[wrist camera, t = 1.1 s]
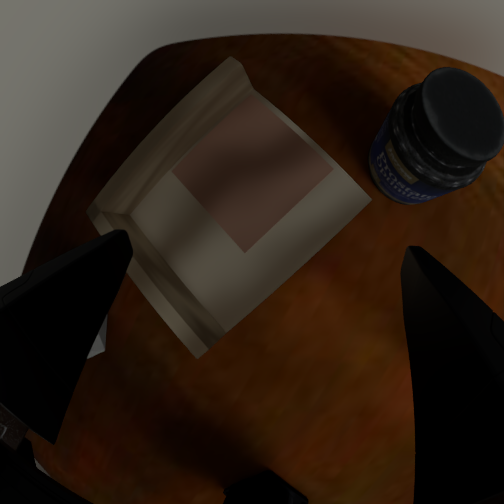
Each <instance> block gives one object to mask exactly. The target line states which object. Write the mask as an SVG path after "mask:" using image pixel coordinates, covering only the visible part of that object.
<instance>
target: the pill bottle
mask: <svg viewBox="0 0 504 504" xmlns="http://www.w3.org/2000/svg"><path fill="white" fill-rule="evenodd" d="M503 144H504V117H503V114H502V111H501V109H500V106H499V104H498V102H497V101H496V99H495V97H494V96H493V94H492V93H491V92H490V90H489V89H488V88H487V87H486V86H485V85H484V84H483V83H482V82H481V81H480V80H478V79H477V78H476V77H474V76H473V75H471V74H469V73H468V72H466V71H463V70H460V69H456V68H450V67H443V68H439V69H436V70H434V71H432V72H431V73H430V74H429V75H428V76H427V77H426V78H425V79H424V81H423V82H422V83H419V84H415V85H412V86H411V87H409V88H407V89H406V90H404V91H403V92H402V93H401V94H400V95H399V96H398V97H397V99H396V100H395V102H394V104H393V106H392V108H391V110H390V112H389V113H388V115H387V117H386V119H385V120H384V123H383V125H382V127H381V128H380V130H379V132H378V134H377V136H376V138H375V139H374V141H373V143H372V144H371V147H370V150H369V155H368V163H369V169H370V173H371V177H372V179H373V182H374V183H375V185H376V186H377V187H378V189H379V190H380V191H381V192H382V193H383V194H384V195H385V196H386V197H388V198H389V199H391V200H393V201H395V202H398V203H400V204H405V205H409V204H419V203H423V202H425V201H428V200H431V199H434V198H436V197H439V196H442V195H444V194H447V193H449V192H452V191H455V190H457V189H460V188H463V187H466V186H468V185H469V184H471V183H472V182H474V181H475V180H476V179H477V178H478V177H479V175H480V174H481V173H482V171H483V169H484V167H485V165H486V162H487V161H489V160H491V159H492V158H494V157H495V156H496V155H497V154H498V153H499V152H500V150H501V148H502V146H503Z"/></svg>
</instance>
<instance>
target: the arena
mask: <svg viewBox="0 0 504 504" xmlns="http://www.w3.org/2000/svg"><path fill="white" fill-rule="evenodd" d="M371 200H372V199H371V198H370V197H369V196H368V195H367V194H366V193H365V192H364V191H363V190H362V189H361V187H360V186H359V185H358V184H357V183H356V182H355V181H354V180H353V179H352V178H351V177H350V176H349V175H348V174H347V173H346V172H345V171H344V170H343V169H342V168H341V167H340V166H339V165H338V164H337V163H336V162H335V161H334V160H333V159H332V158H331V157H330V156H329V155H328V154H327V153H326V152H325V151H324V150H323V149H322V148H321V147H320V146H319V145H317V144H316V143H315V142H314V141H313V140H312V139H311V138H310V137H309V136H308V135H307V134H306V133H305V132H303V131H302V130H301V129H300V128H299V127H298V126H297V125H296V124H294V123H293V122H292V121H291V120H290V119H289V118H288V117H287V116H285V115H284V114H283V113H282V112H281V111H280V110H278V109H277V108H276V107H275V106H274V105H272V104H271V103H270V102H269V101H268V100H266V99H265V98H264V97H263V96H262V95H260V94H259V93H258V92H257V91H255V90H254V89H253V87H252V85H251V83H250V81H249V79H248V77H247V74H246V72H245V70H244V68H243V66H242V64H241V63H240V62H238V61H237V60H235V59H234V58H233V57H231V56H230V57H229V58H228V59H226V60H225V61H224V62H223V63H222V64H220V65H219V66H218V67H217V68H216V69H215V70H213V71H212V72H211V73H210V74H209V75H208V76H207V77H206V78H204V79H203V80H202V81H201V82H200V83H199V84H198V85H197V86H196V87H195V88H194V89H193V90H191V91H190V92H189V93H188V94H187V95H186V96H185V97H184V98H183V99H182V100H181V101H180V102H179V103H178V104H177V105H176V106H175V107H174V108H173V109H172V110H171V111H170V112H169V113H168V114H167V115H166V116H165V117H164V118H163V119H162V120H161V121H160V122H159V123H158V124H157V126H156V127H155V128H154V129H153V130H152V131H151V132H150V133H149V134H148V135H147V136H146V137H145V139H144V140H143V141H142V142H141V143H140V144H139V145H138V146H137V148H136V149H135V150H134V151H133V152H132V153H131V154H130V156H129V157H128V158H127V159H126V160H125V162H124V163H123V164H122V165H121V166H120V168H119V169H118V170H117V171H116V173H115V174H114V175H113V176H112V177H111V179H110V180H109V181H108V183H107V184H106V185H105V186H104V188H103V189H102V190H101V192H100V193H99V194H98V196H97V197H96V198H95V200H94V201H93V202H92V204H91V205H90V206H89V208H88V209H87V211H86V213H87V215H88V217H89V218H90V220H91V221H92V223H93V224H94V226H95V227H96V229H97V230H98V232H99V233H100V235H101V236H102V235H104V234H106V233H108V232H110V231H113V230H115V229H124V230H126V231H127V232H128V235H129V238H130V241H131V244H132V248H133V257H132V259H131V262H130V264H129V266H128V269H127V271H126V272H127V273H128V275H129V276H130V277H131V279H132V280H133V281H134V283H135V284H136V285H137V287H138V288H139V289H140V291H141V292H142V293H143V295H144V296H145V297H146V298H147V300H148V301H149V302H150V304H151V305H152V306H153V307H154V309H155V310H156V311H157V312H158V314H159V315H160V316H161V317H162V318H163V320H164V321H165V322H166V323H167V325H168V326H169V327H170V328H171V329H172V331H173V332H174V333H175V334H176V335H177V337H178V338H179V339H180V340H181V341H182V342H183V344H184V345H185V346H186V347H187V348H188V349H189V350H190V352H191V353H192V354H193V355H194V356H195V357H196V358H197V359H198V358H199V357H200V356H201V355H203V354H204V353H205V352H206V351H208V350H209V349H210V348H211V347H212V346H213V345H214V344H215V343H216V342H217V341H218V340H219V339H220V338H221V337H222V336H224V335H225V334H226V333H227V332H228V331H229V330H230V329H231V328H233V327H234V326H235V325H236V324H237V323H238V322H240V321H241V320H242V319H243V318H244V317H245V316H246V315H248V314H249V313H250V312H251V311H252V310H253V309H255V308H256V307H257V306H258V305H259V304H260V303H261V302H262V301H264V300H265V299H266V298H267V297H268V296H269V295H270V294H272V293H273V292H274V291H275V290H276V289H277V288H278V287H279V286H280V285H282V284H283V283H284V282H285V281H286V280H287V279H288V278H289V277H290V276H292V275H293V274H294V273H295V272H296V271H297V270H298V269H299V268H300V267H301V266H303V265H304V264H305V263H306V262H307V261H308V260H309V259H310V258H311V257H312V256H313V255H315V254H316V253H317V252H318V251H319V250H320V249H321V248H322V247H323V246H324V245H325V244H326V243H327V242H328V241H330V240H331V239H332V238H333V237H334V236H335V235H336V234H337V233H338V232H339V231H340V230H341V229H342V228H343V227H344V226H345V225H346V224H347V223H349V222H350V221H351V220H352V219H353V218H354V217H355V216H356V215H357V214H358V213H359V212H360V211H361V210H362V209H363V208H364V207H365V206H366V205H367V204H368V203H369V202H370V201H371Z"/></svg>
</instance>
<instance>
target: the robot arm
mask: <svg viewBox="0 0 504 504" xmlns="http://www.w3.org/2000/svg"><path fill="white" fill-rule="evenodd" d="M132 257H133V248H132V244H131V241H130V238H129V235H128V232H127V231H126V230H124V229H115V230H113V231H110V232H108V233H106V234H104V235H102V236H100V237H97V238H95V239H93V240H91V241H89V242H87V243H85V244H83V245H81V246H79V247H77V248H75V249H72V250H70V251H68V252H66V253H64V254H62V255H60V256H58V257H56V258H55V259H53V260H51V261H49V262H47V263H45V264H43V265H41V266H39V267H37V268H35V270H31V271H30V272H28V273H26V274H24V275H22V276H20V277H18V278H16V279H15V280H13V281H11V282H9V283H7V284H5V285H3V286H1V287H0V504H93V503H91V502H89V501H88V500H86V499H84V498H82V497H81V496H79V495H77V494H76V493H74V492H72V491H71V490H69V489H67V488H66V487H64V486H63V485H61V484H60V483H58V482H57V481H55V480H54V479H52V478H51V477H49V476H47V475H46V474H45V473H43V472H42V471H41V470H39V469H38V468H37V467H36V463H35V459H34V454H33V449H32V444H31V441H29V440H28V439H26V438H25V435H26V433H27V431H28V429H30V430H32V431H33V432H35V433H36V434H38V435H39V436H41V437H42V438H44V439H45V440H47V441H48V442H50V443H51V444H53V445H54V444H55V442H56V440H57V437H58V434H59V431H60V428H61V425H62V422H63V419H64V416H65V413H66V411H67V408H68V405H69V403H70V400H71V397H72V395H73V392H74V389H75V386H76V384H77V381H78V379H79V376H80V374H81V372H82V369H83V367H84V364H85V362H86V360H87V357H88V355H89V353H90V351H91V348H92V346H93V344H94V342H95V339H96V337H97V335H98V333H99V331H100V328H101V326H102V324H103V322H104V320H105V318H106V316H107V314H108V312H109V309H110V307H111V305H112V303H113V301H114V299H115V297H116V295H117V293H118V291H119V289H120V286H121V284H122V281H123V279H124V276H125V274H126V271H127V269H128V266H129V264H130V262H131V259H132ZM401 286H402V300H403V316H404V325H405V331H406V338H407V345H408V352H409V360H410V369H411V378H412V389H413V402H414V419H415V452H416V454H415V485H414V502H413V504H504V321H503V320H502V319H501V318H500V317H499V316H498V315H497V314H496V313H495V312H493V310H492V309H491V308H490V307H489V306H487V305H486V304H485V303H484V302H483V301H482V300H481V299H480V298H479V297H478V296H477V295H476V294H475V293H474V292H473V291H472V290H471V289H469V288H468V287H467V286H466V285H465V284H464V283H463V282H462V281H461V280H459V279H458V278H457V277H456V276H455V275H454V274H453V273H452V272H450V271H449V270H448V269H447V268H446V267H445V266H443V265H442V264H441V263H440V262H439V261H437V260H436V259H435V258H434V257H433V256H432V255H430V254H429V253H428V252H427V251H425V250H424V249H423V248H422V247H420V246H408V247H407V249H406V252H405V256H404V260H403V263H402V267H401ZM267 475H269V476H267ZM223 493H224V495H226V498H225V500H224V503H223V504H308V499H307V498H305V497H304V496H303V495H301V494H300V493H298V492H297V491H296V490H294V489H293V488H292V487H290V486H289V485H288V484H287V483H285V482H284V481H283V480H281V479H280V478H279V477H278V476H276V475H275V474H274V473H273V472H271V471H264V472H262V473H260V474H258V475H256V476H254V477H251V478H247V479H245V480H242V481H240V482H238V483H235V484H233V485H231V486H230V487H228V488H225V489H224V491H223Z"/></svg>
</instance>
